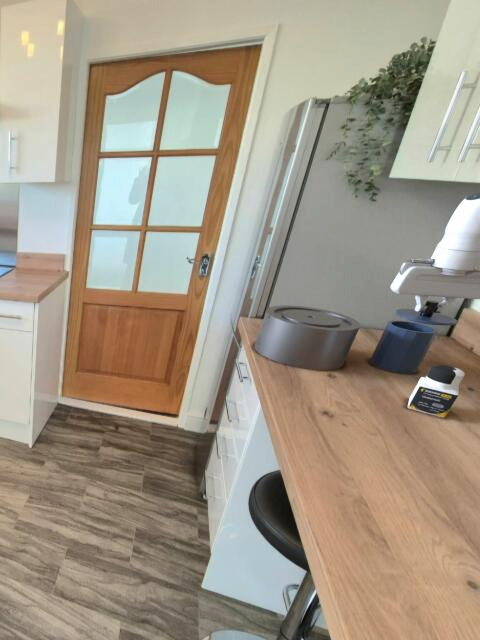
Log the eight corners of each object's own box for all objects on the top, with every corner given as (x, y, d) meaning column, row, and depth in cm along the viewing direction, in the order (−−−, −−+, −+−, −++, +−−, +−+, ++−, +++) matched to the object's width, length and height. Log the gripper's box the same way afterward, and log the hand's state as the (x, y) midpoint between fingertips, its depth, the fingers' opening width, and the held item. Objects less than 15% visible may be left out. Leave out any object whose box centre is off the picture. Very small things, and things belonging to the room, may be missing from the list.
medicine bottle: (407, 408, 114) (429, 367, 109) (408, 399, 119) (430, 359, 113) (444, 418, 110) (469, 377, 104) (445, 408, 114) (469, 368, 109)
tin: (405, 362, 141) (425, 323, 134) (423, 376, 131) (446, 335, 125) (363, 356, 144) (381, 318, 138) (378, 370, 135) (398, 330, 129)
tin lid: (439, 315, 121) (449, 297, 118) (465, 330, 111) (476, 310, 108) (385, 310, 125) (394, 293, 122) (406, 324, 114) (415, 305, 112)
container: (361, 372, 133) (380, 332, 127) (273, 366, 137) (287, 327, 131) (317, 343, 155) (332, 307, 149) (243, 338, 159) (254, 303, 153)
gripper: (413, 260, 110) (388, 311, 116) (514, 265, 105) (482, 319, 111) (398, 255, 115) (376, 305, 122) (494, 260, 110) (465, 311, 117)
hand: (427, 311), depth 116 cm, fingers closed on tin lid, 2 cm apart
